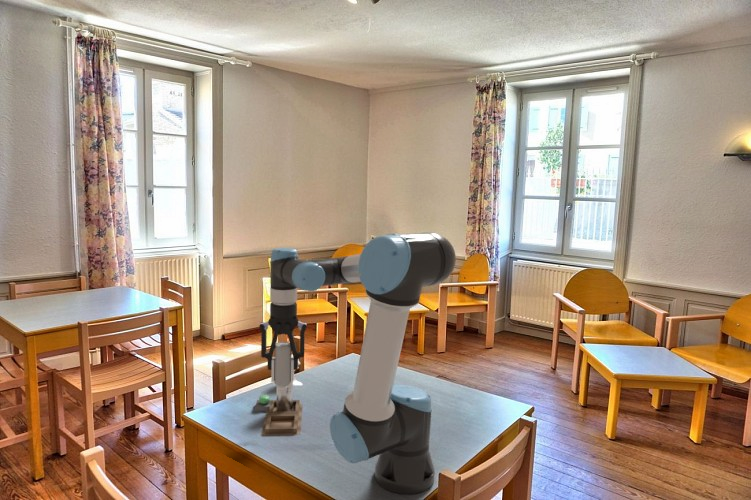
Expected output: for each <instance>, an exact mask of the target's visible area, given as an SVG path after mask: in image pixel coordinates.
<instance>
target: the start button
mask: <svg viewBox="0 0 751 500" xmlns="http://www.w3.org/2000/svg"><path fill="white" fill-rule="evenodd" d="M258 400H259V403H261V404H267V403H269V401H270V400H271V399H270V395H268V394H265V395H264V394H263V395H260V396H259V397H258Z"/></svg>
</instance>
